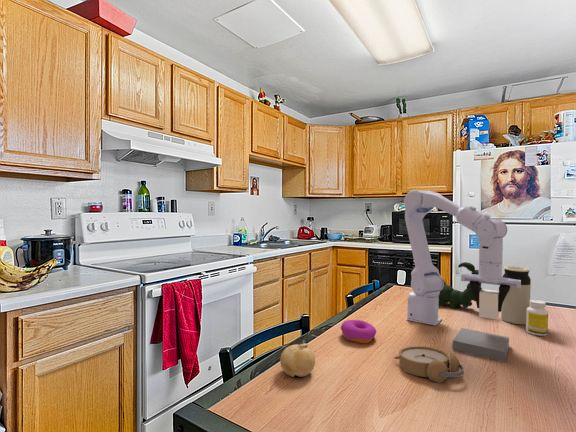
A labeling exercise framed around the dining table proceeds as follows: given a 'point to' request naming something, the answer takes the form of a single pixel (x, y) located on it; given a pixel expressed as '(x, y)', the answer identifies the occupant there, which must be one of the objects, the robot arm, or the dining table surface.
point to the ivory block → (488, 304)
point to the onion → (297, 360)
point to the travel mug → (516, 296)
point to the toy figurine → (455, 295)
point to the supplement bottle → (537, 318)
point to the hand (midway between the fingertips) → (489, 309)
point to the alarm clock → (429, 363)
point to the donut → (358, 331)
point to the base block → (481, 344)
